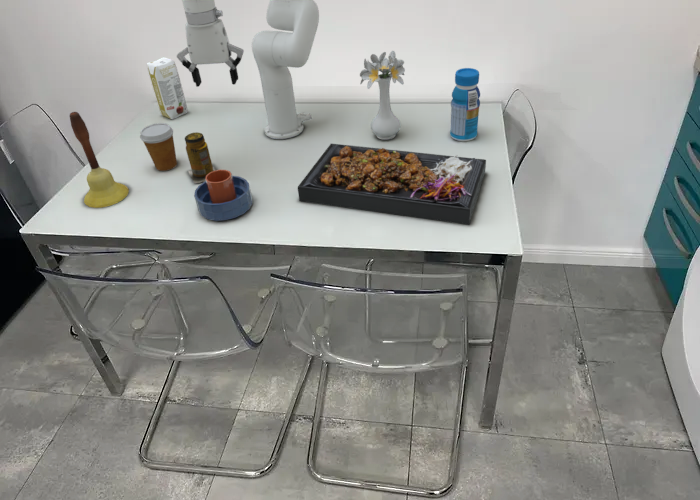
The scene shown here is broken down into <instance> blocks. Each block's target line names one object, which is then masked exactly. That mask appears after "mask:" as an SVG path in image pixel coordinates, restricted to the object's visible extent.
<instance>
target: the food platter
mask: <svg viewBox="0 0 700 500" xmlns="http://www.w3.org/2000/svg"><path fill="white" fill-rule="evenodd" d="M486 167H487V159H484V158H483V159H482V158H476V157H463V156H458V154H455V155H445V154H435V153H424V152H416V151H406V150H397V149H389V148H384V147H381V148H378V147H369V146H359V145H348V144H340V143H330V144H329V145H328V146H327V148H326V149H325V150H324V151H323V153H322V154H321V156H320V157H319V158H318V160H317V161H316V162H315V163H314V165H313V166H312V168H311V169H310V170H309V171H308V173H307V174H306V175H305V177H303V179H302V181H301V182H300V183H299V184H298V186H297V193H298V200H299V202H304V203H311V204H319V205H326V206H332V207H333V206H334V207H340V208H347V209H355V210H362V211H367V212H376V213H382V214H388V215H389V214H390V215H398V216H403V217H404V216H406V217H409V218H410V217H412V218H418V219H424V220H432V221H439V222H447V223H453V224H461V225H470V223H471V220H472V217H473V213H474V211H475V207H476V203H477V200H478V197H479V194H480V191H481V187H482V185H483V182H484V179H485V175H486Z"/></svg>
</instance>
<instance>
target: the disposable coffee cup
mask: <svg viewBox="0 0 700 500" xmlns="http://www.w3.org/2000/svg"><path fill="white" fill-rule="evenodd" d="M139 132H140V135H139V139H140V140H141V141H142V142H143V144H144V146H145V148H146V150H147V153H148V154H149V156H150V158H151V160H152V163H153V164H154V166H155V169H156V170H157V171H159V172H160V171H161V172H164V171H170V170H173V169H174V168H176V167H177V166H178V161H177V154H176V148H175V141H174V129H173V128H172V126H171V125H170V124H168V123H166V122H157V123H152V124H149V125H147V126H144V127H143V128H141V130H140V131H139Z"/></svg>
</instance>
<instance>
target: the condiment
mask: <svg viewBox="0 0 700 500" xmlns="http://www.w3.org/2000/svg"><path fill="white" fill-rule="evenodd" d="M184 141H185V151H186V155H187V158H188V162H189V165H190V170H187V172H188V175H189V176H190V178H191V180H192V181H193V183H194V184H201V183H203V182H205V181H206V180H205V178H206V175H208V174H209V173H210V172H213V171H215V170H216V168H215V167H214V166H213V162H212V159H211V154H210V151H209V146H208V143H207V142H206V140H205V136H204V134H203V133H201V132H197V131H196V132H190V133H187V134H186V136H185V137H184Z"/></svg>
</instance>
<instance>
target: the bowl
mask: <svg viewBox="0 0 700 500" xmlns="http://www.w3.org/2000/svg"><path fill="white" fill-rule="evenodd" d="M232 178H233V182H234V186H235V191H236V195H237V198H236V199H234V200H232V201H229V202H224V203H215V204H212V202H211V199H210V195H209V191H208V187H207V184H206V181H204V182H201V183H200V184H199V185H198V186H196V188H195V190H194V195H193V196H194V200H195V203H196V207H197V210H198V213H199V214H200V217H202V218H204V219H206V220H210V221H214V222H215V221H217V222H218V221H227V220H232V219H235V218H238V217H240V216H242V215H244V214H245V213H246V212H248V211H249V210H250V209H251V207H252V205H253V196H252V192H251V185H250V182H248V180H247V179H246V178H244V177H241V176H238V175H233V174H232Z"/></svg>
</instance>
